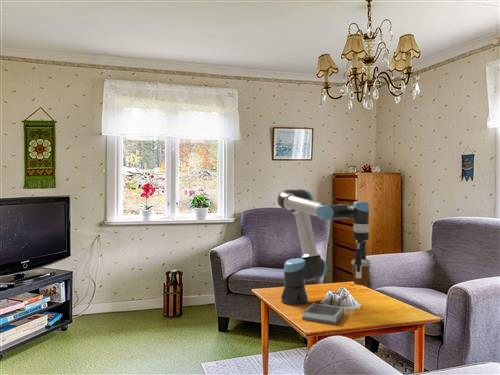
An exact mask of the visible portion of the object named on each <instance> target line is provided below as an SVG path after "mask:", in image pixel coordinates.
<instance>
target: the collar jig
mask: <svg viewBox="0 0 500 375" xmlns="http://www.w3.org/2000/svg"><path fill="white" fill-rule="evenodd" d="M344 316H345V307H344V306H343V307H342V306H336V305H329V304H328V305H327V304H322V303H313V302H312V303H311V304H310V305H309V306H308V307H306V308H305V310H303V312H302V317H301V319H302V320H305V321H310V322H318V323H322V324H323V323H324V324H330V325H334V326H335V325H338V323H340V321H341V319H342V318H343V317H344Z"/></svg>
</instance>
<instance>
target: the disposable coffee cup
mask: <svg viewBox="0 0 500 375" xmlns="http://www.w3.org/2000/svg"><path fill="white" fill-rule="evenodd" d="M366 259H367V258H366ZM366 259H362V261H361V265H362V278H356V265H354V263H355V258H352V260H351V261H350V263H351V267H352V276H353V284H354V285H357V286H367V284H368V281H369V280H368V279H369V273H370V266H371V261H370V260H369V259H367V260H366Z"/></svg>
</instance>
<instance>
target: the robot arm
mask: <svg viewBox="0 0 500 375" xmlns="http://www.w3.org/2000/svg"><path fill="white" fill-rule="evenodd" d="M277 204H278V205H279V207H280V208H281V209H284V210H287V211H291V213H292V214H293V215H294V218H295V221H296V227H297V233H298V237H299V243H300V244H299V245H300V248H301V254H302V255H301V257H299V258H297V257H296V258H289V259H287V260H286V261H285V262H284V265H283V266H284V268H283V270H284V271H283V272H284V274H283V276H284V278H283V279H284V284H283V290H282V292H281V293H282V294H281V297H280V302H282V303H283V304H285V305H289V306H290V305H292V306H302V305H303V306H304V305H306V304H308V303H309V297H308V293H307V290H306V282H309V281H316V280H320V279H323V278H324V277H325V276H326V274H327V272H328V266H327V262H326V261H325V260H324V258H322V257H321V254H320V253H318V250H317V246H316V241H315V235H314V229H313V225H312V221H311V220H312V219H311V216H315V217H317V218H318V219H319V220H321V221H331V220H345V219H346V220H348V219H350V220H353V224H352V225H353V227H352V230H353V233H352V236H353V240H355V241H357V243H355V256H354V257H355V258H354V259H355V263H354V265H356V278H362V265H361V261H362V259H366V260H368V259H367V248H366V247H367V245H366V244H367V242H366V241H368V240H369V239H370V238H369V237H370V236H369V235H370V234H369V231H370V230H369V229H370V228H371V226H370V203H369V202H368V201H365V200H364V201H362V200H359V201H358V200H357V201H356V200H355V201H354V202H353V204H346V203H339V204H327V203H324V202H319V201H316V200H314V197H313V195H312V193H311V192H310V191H309V190H307V189H302V188H300V189H284V190H283V191H281V192H280V193H278V196H277Z"/></svg>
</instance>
